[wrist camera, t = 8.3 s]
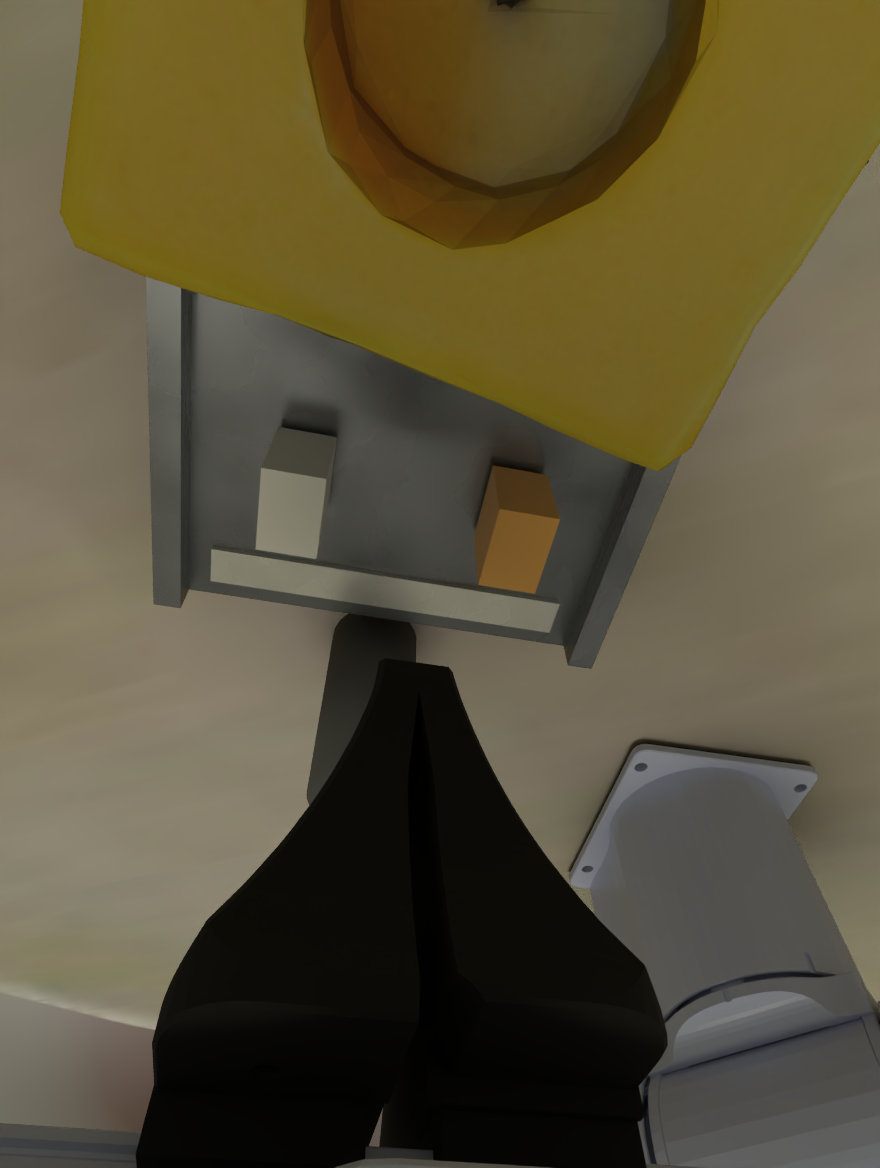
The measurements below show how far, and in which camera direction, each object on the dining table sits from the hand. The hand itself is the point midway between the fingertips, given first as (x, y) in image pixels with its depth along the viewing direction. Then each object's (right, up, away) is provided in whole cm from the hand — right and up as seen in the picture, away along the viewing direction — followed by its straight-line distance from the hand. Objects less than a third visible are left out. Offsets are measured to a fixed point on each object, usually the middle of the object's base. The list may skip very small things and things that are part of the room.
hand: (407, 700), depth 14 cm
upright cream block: (-3, +5, +7) cm, 9 cm away
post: (-2, 0, +13) cm, 13 cm away
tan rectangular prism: (+3, +4, +7) cm, 9 cm away
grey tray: (0, +6, +8) cm, 10 cm away
